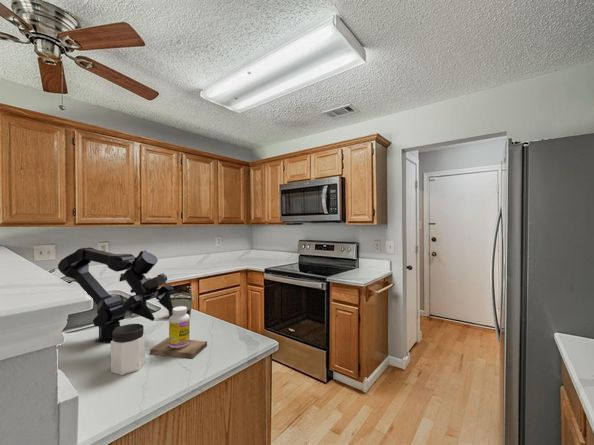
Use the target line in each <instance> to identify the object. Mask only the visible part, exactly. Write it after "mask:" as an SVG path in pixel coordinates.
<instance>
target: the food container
mask: <svg viewBox="0 0 594 445" xmlns="http://www.w3.org/2000/svg"><path fill="white" fill-rule="evenodd" d="M170 298H171V302H172V306H173V308H175V307H179V306H184V307H187V312H186V314H188V315H189V317H190V318H191V313H192V304H193V301H194V300H195V299H194V296H193V294H192V293H188V292H180V293H173V294H172V293H171V295H170ZM167 311H168V318H169V319H170V317H171V316H172V315H173V313H172V312H170V311H169V310H168V309H167Z"/></svg>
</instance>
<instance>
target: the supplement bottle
mask: <svg viewBox="0 0 594 445" xmlns="http://www.w3.org/2000/svg"><path fill="white" fill-rule="evenodd" d="M186 312H187V307H184V306H179V307H175V308H173V309H172V313H173V315H172V316H171V317H170V318H169V320H168V324H169V325H168V338H169V346H170V347H171V348H182V347H185V346H187V345H188V344H189V340H190V336H191V335H190V333H191V332H190V326H191V325H190V322H191V321H190V319H191V316H190V317H189V315H188V314H186Z"/></svg>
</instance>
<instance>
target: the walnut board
mask: <svg viewBox="0 0 594 445" xmlns="http://www.w3.org/2000/svg"><path fill="white" fill-rule="evenodd" d="M207 346H208V341H205V340H194V339H189V344H188V345H187V346H185V347H182V348H171V347H170V346H169V337H167V338H165V339H163V340H162V341H160V342H158V343H157V344H156V345H154V346H152V347H151V348H150V350H149V354H153V355H162V356H172V357H181V358H191V359H194V358H195V357H196V356H197V355H198V354H200V353H201V352H202V351H203V350H204V349H205V348H206V347H207Z"/></svg>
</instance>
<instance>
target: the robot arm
mask: <svg viewBox="0 0 594 445" xmlns="http://www.w3.org/2000/svg"><path fill="white" fill-rule="evenodd" d="M158 261H159V260H158V257H157V255H155V254H152V253H151V252H148V251H147V250H146V249H145V250H141V251H139V253H138V254H137V256H136V257H135V255H133V254H132V253H112V252H108V251H104V250H100V249H98V248H97V249H96V248H94V247H89V246H88V247H80V248H79V249H77V250H75V251H74V252H73V253H71V254H69V255H67V256H65V257H63V258H62V259H61V260H60V261H59V262H58V264H57V268H58V270H59V272H60V273H61V274H63V275H64V276H65V277H67V278H69V279H73V280H75V281H76V283H77V284H78V285H79V286H80V287H81V288H82V289H83V291H84V292H85V291H86V292H87V293H86V292H85V293H86V294H87V295H88V296H89V295H90V296H91V297H92V298H93V300H94V301H93V300H92V301H93V303H94V304H96V313H97V315H96V316H95V318H93V320H92V322H93V326H94V327H98V338H96V339H95V341H94V342H97V343H108V344H109V343H110V344H111V341H112V340H113V338H112V334H113V330H114V329H116V328H118V327H120V326H121V321H122V320H124V319H125V316H126V313H129V314H135V315H137V316H139V317H143V318H145V319H147V320H149V321H152V322H153V321H154V320H155V316H154V314H153V312H151V310H150V308H149V307H148V306H147V301H149V300H153V299H156V300H158V301H157V302H158V303H159V304H160V305H161V306H162V307H164V308H165V309H166V310H167V311H168V310H169V311H170V312H172V309H173V306H172V302H171V298H170V295H172V293H173V290H174V287H173V286H172V284H167V281H168V277H167V275H166V274H165V273H164V272H163V273H159V274H157V275H156V276H155V277H152V278H150V277H146V276H145V275H147V274H148V273H149V272H150V271H151V270H152V269H153V268H154V266H155V265H156V264H158ZM92 262H95V263H99V264H102V265H105V266H107V268H108V269H109V270H112V271H114V272H115V273H116V272H117V273H119V272H122V271H124V273H120V276H119V282H126V283H127V284H128V286H129V287H130V290H129V291H130V294H133V293H134V294H133V295H130V296H129V297H128V298H127V299H126V300H123V299H122V297H121V296H120V295H119V294H118V295H114V296H113V295H110V294H109V292H108V291H107V290H106V289H105V288H104V287H103V286H102V285H101V284H100V282H99V281H98V280H97V279H96V278H95V277H94V275H93V274H92V273H91V272H90V271H89V267H90V266H89V264H90V263H92ZM90 296H89V297H90ZM91 297H90V298H91ZM92 298H91V299H92Z"/></svg>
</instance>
